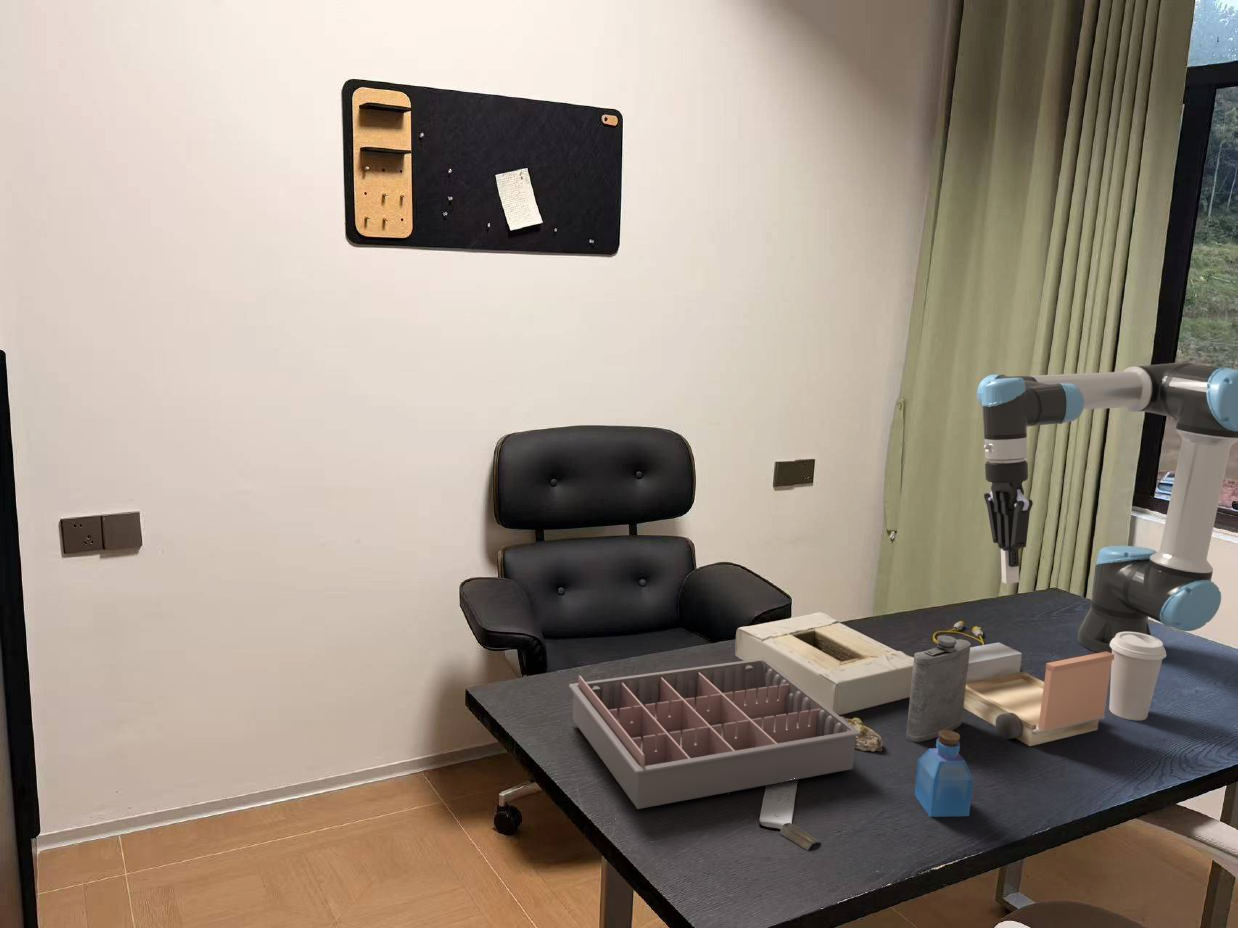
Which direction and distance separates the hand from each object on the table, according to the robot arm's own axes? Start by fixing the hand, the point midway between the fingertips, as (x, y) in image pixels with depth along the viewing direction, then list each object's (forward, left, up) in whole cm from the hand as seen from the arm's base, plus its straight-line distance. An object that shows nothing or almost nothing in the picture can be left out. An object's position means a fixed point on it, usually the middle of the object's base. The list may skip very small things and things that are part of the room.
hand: (1010, 582), depth 187 cm
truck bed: (-1, +5, -24) cm, 24 cm away
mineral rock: (+32, +19, -24) cm, 45 cm away
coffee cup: (-23, +5, -24) cm, 34 cm away
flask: (+17, +15, -24) cm, 33 cm away
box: (+32, -9, -25) cm, 41 cm away
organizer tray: (+59, +25, -24) cm, 68 cm away
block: (+48, +50, -25) cm, 73 cm away
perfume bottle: (+24, +40, -24) cm, 52 cm away
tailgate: (-7, +17, -21) cm, 27 cm away
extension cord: (-3, -30, -25) cm, 39 cm away
